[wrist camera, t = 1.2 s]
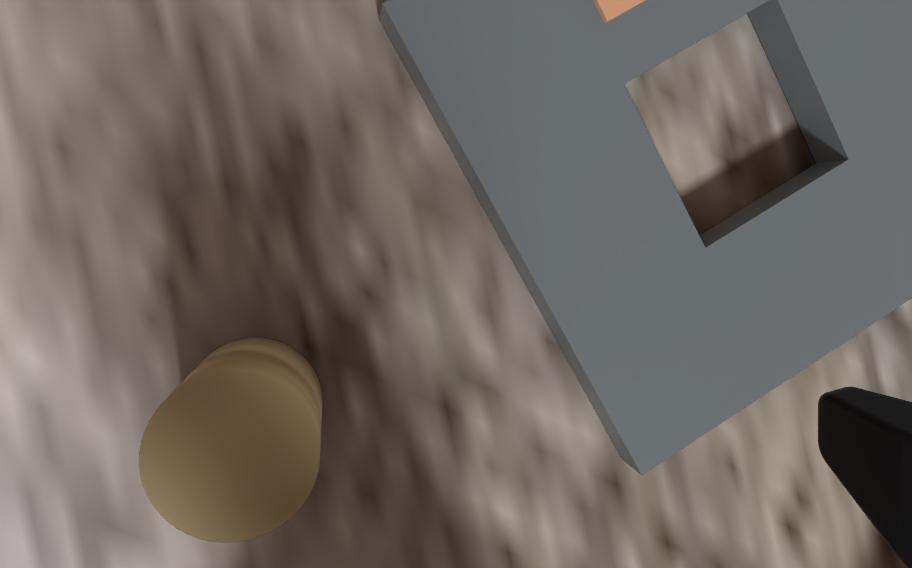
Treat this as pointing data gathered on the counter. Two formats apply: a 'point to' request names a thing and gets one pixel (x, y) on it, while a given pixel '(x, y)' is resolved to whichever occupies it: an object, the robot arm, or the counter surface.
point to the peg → (235, 442)
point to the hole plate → (675, 193)
